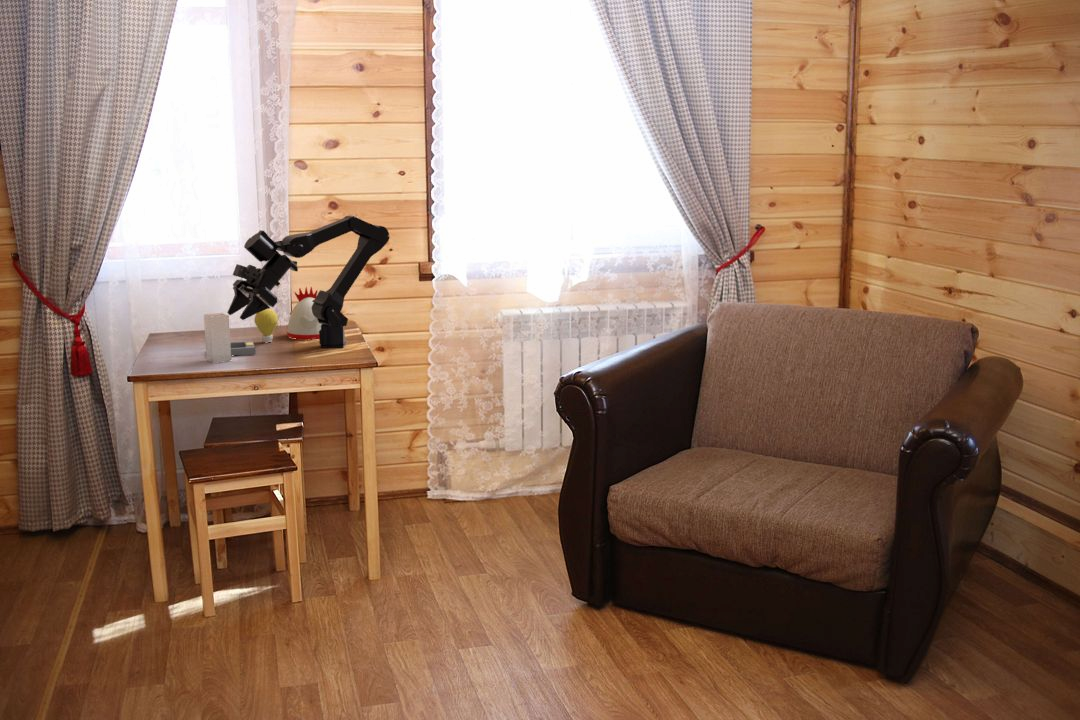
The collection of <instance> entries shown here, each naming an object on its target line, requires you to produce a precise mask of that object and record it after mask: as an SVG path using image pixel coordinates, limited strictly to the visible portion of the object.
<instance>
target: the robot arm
mask: <svg viewBox="0 0 1080 720" xmlns="http://www.w3.org/2000/svg"><path fill="white" fill-rule="evenodd" d="M351 232H352V233H354V234H355V235H357V236H359V237H358V239H357V240H358V241H357V245H356V249H355V251H354V252H353V254H352V255H351V256H350V258H349V260H348V262H347V263H346V264H345V266H344V267H343V269H342V270H341V271H340V273H339V274H338V276H337V278H336V279H335V281H333V284H332V285H331V286H330V288H329V289H327V290H326V291H325V290H322V289H321V290H319V291H318V292H317V297H316V298H315V299H314V300H313V301H312V302H314V303H313V305H312V308H311V309H312V313H313V315H314V316H315V317H316V318H317V319H318V322H319V323H320V324H322V325H321V329H320V331H319V345H320V348H323V349H324V348H325V349H326V348H344V347H345V345H346V344H347V341H346V335H345V333H346V332H345V327H346V326H347V325H348V320H349V318H348V317H346V316H345V315H344V314H343V313H342V310H343V307H344V303H345V297H346V295H347V294H348V292H349V291H350V290H351V288H352V287H353V285H354V283H355V282H356V280H357V279H358V277H359V276H360V274H361V273H362V271H364V270H363V269H364V268H365V267H366V265H367V264H368V262H369V261H370V260H371V258H372V256H374V255H375V254H377V253H379V251H381V250H382V249H383V248H384V247H385V245H387V244H388V243H389V240H390V233H389V230H388V229H387V227H385V226H383V225H376V224H372V223H369V222H367V221H364V220H362V219H361V218H359V217H358V216H355V215H354V216H353V215H346V216H344V217H343V218H339V219H338V220H335V221H333V222H331V223H327V224H326V225H324V226H321V227H318V228H316V229H314V230H312V231H308V232H299V233H294V234H289V235H286V236H285V237H283V238H282V239H281V240H278V241H274V240H273V239H272V238H271V237H270V236H269V235H268V233H266V232H265V230H259V231H258V232H257V233H255V234H254V235H252V236H251V237H249V238H248V239H247V240H246V241H245V243H244V246H243V247H244V249H245V250H246V251H247V252H248V253H250V254H251V255H252V256H253V258H255V259H256V260H257V261H259V262H260V263H262V262H266V263H265V264H264V265H263V266H262V267H259V268H257V267H256V266H254V265H253V264H248V265H247V266H245V265H241V264H237V263H236V264H235V265H236V266H235V267H234V270H233V273H232V276H234V277H238V278H241V279H236V280H235V281H234V283H233V284H232V286H233V287H232V289H233V292H234V296H233V299H232V301H231V304H230V306H229V308H228V310H227V315H229V316H231V315H233V314H235V313H237V312H239V311H240V310H242V309H243V308H244V309H243V310H242V313H241V314H240V316H239V319H241V321H245V320H247V319H248V318H250V317H253V316H255V315H256V314H257V313H259V312H261V311H263V310H266V309H270V308H274V307H275V306H276V305H277V304H278V297H277V296H276V295H275V293H273V292H272V290H273V289H274V288H275V287H279V286H280V285H281V282H280V281H281V280H282V278H283V277H284V276H285V275H286V274H287V272H289V270H291V271H293V272H298V270H299V268H298V261H296V260H292V259H290V258H289V257H291V258H296V259H300V258H303V257H305V256H306V255H308V254H309V253H311V252H312V251H313V250H315V248H317V247H318V246H319V245H322V244H324V243H326V242H329V241H331V240H334V239H336V238H338V237H341V236H343V235H345V234H348V233H351ZM278 251H279V252H282V253H283V254H280V253H279V252H278ZM244 279H245V280H244Z"/></svg>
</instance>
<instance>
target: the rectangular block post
mask: <svg viewBox="0 0 1080 720" xmlns="http://www.w3.org/2000/svg"><path fill="white" fill-rule="evenodd" d="M203 321H204V336H205V353H206V361H207V360H208V361H207V362H209V361H210V362H209V363H211V362H212V364H213V363H214V364H218V363H217V362H222V363H224V362H223V361H229V362H231V361H230V360H232V356H231V344H230V342H231V331H230V329H231V327H230V315H229V314H226V313H224V312H220V313H219V312H217V313H209V314H203Z"/></svg>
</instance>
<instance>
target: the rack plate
mask: <svg viewBox="0 0 1080 720" xmlns="http://www.w3.org/2000/svg"><path fill="white" fill-rule="evenodd" d="M230 344H231V357H233V356H232V355H242V356H255V355H254V354H256V346H255V344H254V341H253V340H247V341H246V340H243V341H230Z"/></svg>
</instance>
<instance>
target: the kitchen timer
mask: <svg viewBox="0 0 1080 720" xmlns="http://www.w3.org/2000/svg"><path fill="white" fill-rule="evenodd" d="M298 289H299V290H298V291H299V292H298V293H299V294H298V293H297V292H296V291H294V295H295V297H296V298H297V300H298V302H297V303H296V304H295V306H294V307H293V309H292V310H291V311H290V312H289V320H288V324H287V331H286V333H287V335H286V336H288V337H291V338H296V339H307V340H306V341H309V340H308V339H311V340H310V341H313V340H312V339H319V331H320V329H321V325H322V324H320V323H319V322H318V319H317V318H316V317H315V316H314V315H313V313H312V309H311V308H312V305H313V303H314V302H312V301H313V300H314V299H315V298H316V297H317V295H318V289H316V290H315V291H313V287H312V286H310V290H309V291H308V288H307V286H305V288H304V289H305V291H304V293H303V291H302V288H301V287H299V288H298ZM308 292H309V293H308ZM288 337H287V338H288Z"/></svg>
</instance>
